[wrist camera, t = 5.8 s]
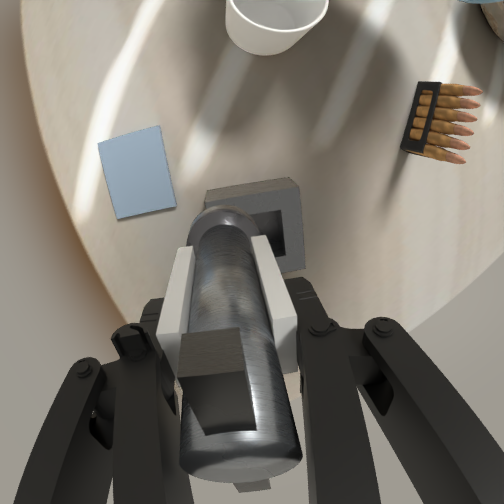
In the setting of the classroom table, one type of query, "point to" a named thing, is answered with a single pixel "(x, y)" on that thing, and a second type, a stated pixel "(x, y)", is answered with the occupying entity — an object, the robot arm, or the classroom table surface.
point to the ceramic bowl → (495, 17)
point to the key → (232, 364)
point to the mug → (271, 23)
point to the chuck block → (270, 216)
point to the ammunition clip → (439, 120)
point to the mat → (137, 172)
